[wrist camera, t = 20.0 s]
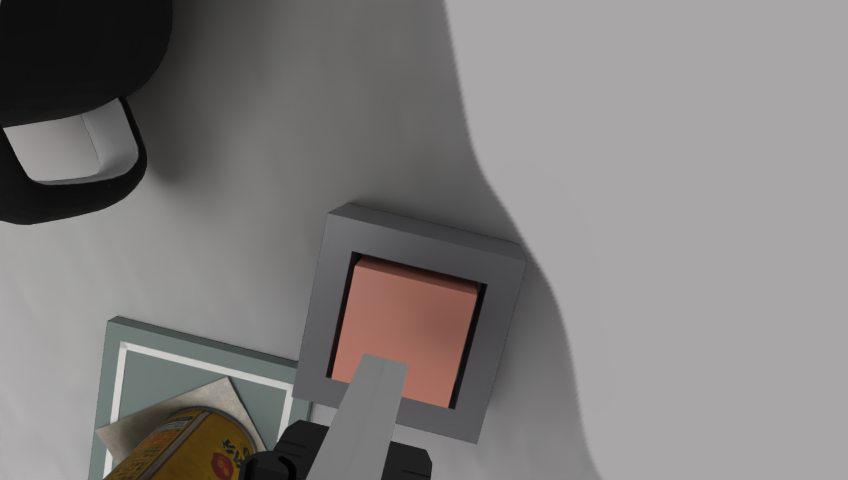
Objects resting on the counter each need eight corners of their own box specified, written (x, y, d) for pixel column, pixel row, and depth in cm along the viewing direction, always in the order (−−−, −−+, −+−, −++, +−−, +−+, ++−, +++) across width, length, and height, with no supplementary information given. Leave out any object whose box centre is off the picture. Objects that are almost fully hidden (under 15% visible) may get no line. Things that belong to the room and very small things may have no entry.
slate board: (116, 316, 30) (106, 321, 29) (319, 367, 30) (314, 374, 29) (92, 512, 33) (82, 522, 32) (279, 561, 32) (274, 573, 32)
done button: (367, 251, 27) (355, 265, 24) (476, 277, 26) (477, 295, 24) (345, 353, 28) (331, 379, 25) (449, 379, 28) (447, 408, 25)
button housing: (347, 202, 28) (327, 213, 24) (519, 244, 28) (527, 261, 24) (314, 362, 30) (291, 397, 26) (475, 403, 30) (476, 444, 26)
